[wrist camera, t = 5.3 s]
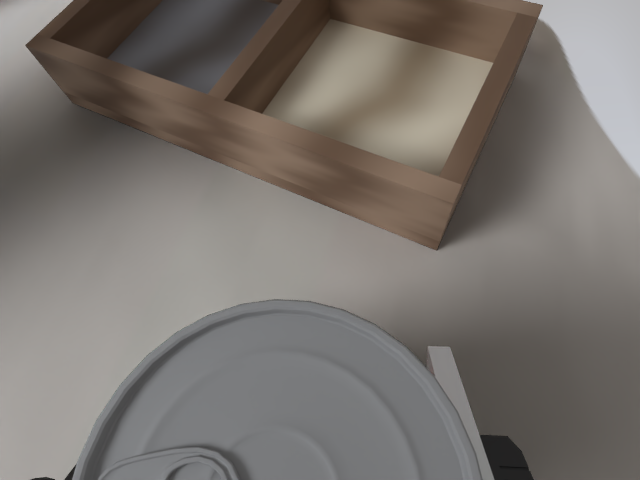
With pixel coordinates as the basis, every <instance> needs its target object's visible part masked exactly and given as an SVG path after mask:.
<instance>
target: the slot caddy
mask: <svg viewBox="0 0 640 480" xmlns="http://www.w3.org/2000/svg"><path fill="white" fill-rule="evenodd" d="M542 7H543V5H540V4H536V3H531V2H527V1H522V0H74V1H73V2H71V3H70V4H69V5H68V6H67V7H66V8H65V9H64V10H63V11H62V12H61V13H60V14H59V15H57V16H56V17H55V18H54V19H53V20H52V21H51V22H50V23H49V24H48V25H47V26H46V27H45V28H43V29H42V30H41V31H40V32H39V33H38V34H37V35H36V36H35V37H34V38H33V39H32V40H31V41H29V42H28V43H27V44H26V45H25V46H26V47H27V48H28V49H29V51H30V52H31V53H32V54H33V55H34V57H35V58H36V59H37V60H38V61H39V63H40V64H41V65H42V66H43V67H44V69H45V70H46V71H47V72H48V74H49V75H50V76H51V77H52V78H53V80H54V81H55V82H56V83H57V84H58V86H59V87H60V88H61V89H62V91H63V92H64V93H65V94H66V95H67V97H68V98H69V99H70V100H71V101H72V103H74V104H77V105H79V106H81V107H84V108H86V109H89V110H91V111H94V112H96V113H99V114H101V115H104V116H106V117H109V118H111V119H114V120H116V121H118V122H121V123H123V124H126V125H128V126H131V127H133V128H136V129H138V130H141V131H143V132H146V133H148V134H151V135H153V136H155V137H158V138H160V139H163V140H165V141H168V142H170V143H173V144H175V145H178V146H180V147H183V148H185V149H188V150H190V151H192V152H195V153H197V154H200V155H202V156H205V157H207V158H210V159H212V160H215V161H217V162H220V163H222V164H225V165H227V166H229V167H232V168H234V169H237V170H239V171H242V172H244V173H247V174H249V175H252V176H254V177H257V178H259V179H262V180H264V181H266V182H269V183H271V184H274V185H276V186H279V187H281V188H284V189H286V190H289V191H291V192H294V193H296V194H299V195H301V196H303V197H306V198H308V199H311V200H313V201H316V202H318V203H321V204H323V205H326V206H328V207H331V208H333V209H336V210H338V211H341V212H343V213H345V214H348V215H350V216H353V217H355V218H358V219H360V220H363V221H365V222H368V223H370V224H373V225H375V226H378V227H380V228H382V229H385V230H387V231H390V232H392V233H395V234H397V235H400V236H402V237H405V238H407V239H410V240H412V241H415V242H417V243H419V244H422V245H424V246H427V247H429V248H432V249H434V250H437V249H438V247H439V244H440V242H441V240H442V238H443V235H444V233H445V231H446V229H447V226H448V224H449V222H450V220H451V217H452V215H453V213H454V211H455V209H456V206H457V204H458V202H459V200H460V197H461V195H462V193H463V191H464V188H465V186H466V184H467V182H468V179H469V177H470V175H471V173H472V171H473V168H474V166H475V164H476V162H477V159H478V157H479V155H480V153H481V150H482V148H483V146H484V144H485V141H486V139H487V137H488V135H489V133H490V130H491V128H492V126H493V124H494V121H495V119H496V117H497V115H498V112H499V110H500V108H501V106H502V103H503V101H504V99H505V97H506V94H507V92H508V90H509V88H510V86H511V83H512V81H513V79H514V77H515V74H516V72H517V69H518V67H519V64H520V62H521V59H522V57H523V54H524V52H525V49H526V47H527V44H528V42H529V39H530V37H531V34H532V32H533V29H534V27H535V24H536V22H537V19H538V17H539V14H540V11H541V9H542Z"/></svg>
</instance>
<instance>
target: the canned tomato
mask: <svg viewBox="0 0 640 480" xmlns="http://www.w3.org/2000/svg"><path fill="white" fill-rule="evenodd" d="M72 480H483V479H482V475H481V471H480V467H479V463H478V459H477V455H476V452H475V450H474V447H473V445H472V443H471V440H470V438H469V436H468V434H467V431H466V429H465V427H464V424H463V422H462V420H461V418H460V415H459V413H458V411H457V409H456V408H455V406H454V405H453V403H452V402H451V400H450V399H449V397H448V396H447V394H446V393H445V391H444V390H443V388H442V387H441V385H440V384H439V382H438V381H437V379H436V378H435V376H434V375H433V374H432V373H431V372H430V371H429V370H428V369H427V368H426V367H425V366H424V365H423V363H422V362H421V361H420V360H419V359H418V358H417V357H416V356H415V355H414V354H413V353H412V352H411V351H410V350H409V349H408V348H407V347H406V346H405V345H403V344H402V343H401V342H399V341H398V340H396V339H395V338H394V337H392V336H391V335H390V334H388V333H387V332H385V331H384V330H383V329H381V328H380V327H378V326H377V325H376V324H373V323H371V322H369V321H367V320H365V319H363V318H361V317H358V316H356V315H354V314H352V313H350V312H348V311H346V310H343V309H339V308H335V307H331V306H327V305H323V304H319V303H315V302H311V301H298V300H279V299H274V300H267V301H260V302H252V303H245V304H240V305H237V306H234V307H231V308H228V309H225V310H222V311H219V312H216V313H213V314H210V315H207V316H206V317H204V318H202V319H200V320H198V321H196V322H195V323H193V324H191V325H189V326H187V327H185V328H183V329H182V330H180V331H178V332H176V333H175V334H174V335H172V336H171V337H170V338H169V339H167V340H166V341H165V342H164V343H162V344H161V345H160V346H158V347H157V348H156V349H155V350H153V351H152V352H151V353H149V354H148V355H147V356H146V357H145V358H144V359H143V360H142V361H141V362H140V364H139V365H138V366H137V367H136V368H135V369H134V370H133V371H132V372H131V373H130V374H129V376H128V377H127V378H126V379H125V380H124V381H123V382H122V383H121V384H120V385H119V387H118V388H117V390H116V391H115V393H114V394H113V396H112V397H111V399H110V400H109V402H108V403H107V405H106V406H105V408H104V410H103V411H102V413H101V414H100V416H99V417H98V419H97V420H96V422H95V424H94V426H93V429H92V431H91V433H90V435H89V437H88V439H87V442H86V444H85V446H84V448H83V450H82V452H81V454H80V457H79V459H78V461H77V465H76V468H75V471H74V475H73V478H72Z"/></svg>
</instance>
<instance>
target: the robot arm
mask: <svg viewBox="0 0 640 480" xmlns="http://www.w3.org/2000/svg"><path fill="white" fill-rule="evenodd" d="M426 368H427V369H428V370H429V371H430V372H431V373H432V374H433V375H434V376H435V378H436V379H437V381H438V382H439V384H440V385H441V387H442V388H443V390H444V391H445V393H446V394H447V396H448V397H449V399H450V400H451V402H452V403H453V405H454V406H455V408H456V409H457V411H458V413H459V415H460V418H461V420H462V422H463V424H464V427H465V429H466V431H467V434H468V436H469V438H470V440H471V443H472V445H473V447H474V450H475V452H476V455H477V459H478V463H479V467H480V471H481V475H482V479H483V480H534V479H533V477H532V474H531V472H530V471H529V469H528V465H527V463H526V461H525V458H524V456H523V454H522V451H521V450H520V449H519V448H518V447H517V446H516V445H515V444H514V443H513V442H512V441H511V440H510V438H509V437H508V436H491V435H479V432H478V429H477V426H476V423H475V420H474V417H473V414H472V411H471V408H470V405H469V402H468V399H467V396H466V393H465V390H464V387H463V384H462V381H461V378H460V375H459V372H458V369H457V366H456V363H455V360H454V357H453V354H452V351H451V348H450V347H445V346H428V348H427V366H426ZM76 465H77V464H76ZM76 465H75V467H74V468H73V469H72V470H71V472H70V473H69V474H68V476H67V477H66V478H65V480H72V478H73V475H74V471H75V468H76ZM31 480H55V479H51V478H48V477H42V478H34V479H31Z"/></svg>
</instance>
